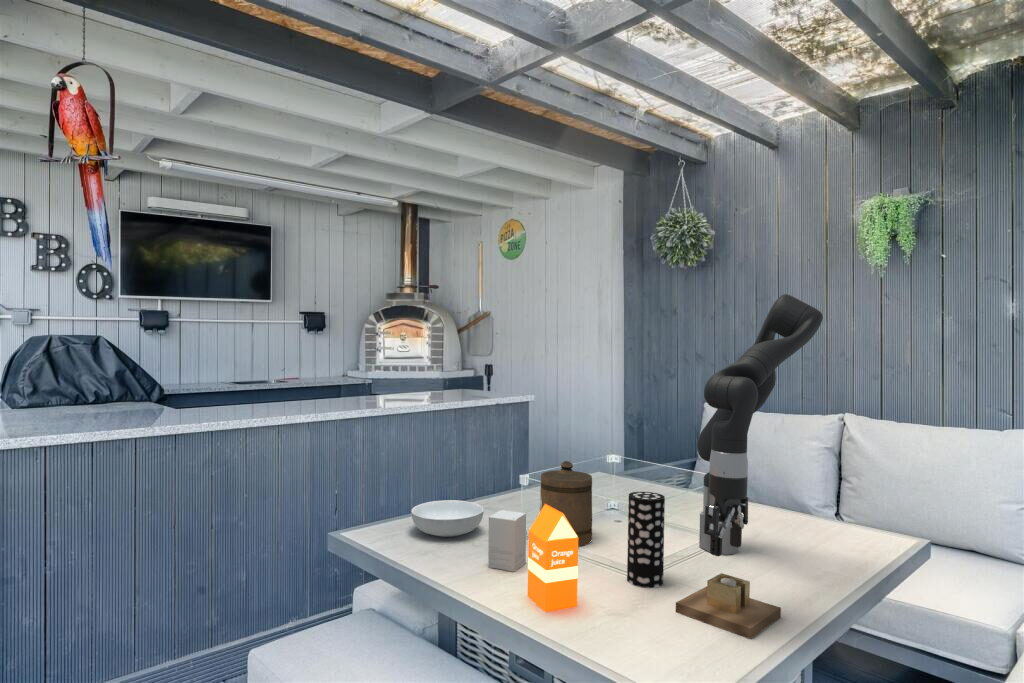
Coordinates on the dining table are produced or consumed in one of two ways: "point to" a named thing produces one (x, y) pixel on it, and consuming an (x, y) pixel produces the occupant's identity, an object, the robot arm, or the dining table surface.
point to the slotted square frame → (728, 594)
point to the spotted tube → (645, 539)
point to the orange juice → (552, 561)
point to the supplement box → (507, 540)
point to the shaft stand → (741, 623)
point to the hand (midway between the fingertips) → (726, 550)
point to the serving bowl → (447, 517)
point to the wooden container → (570, 498)
